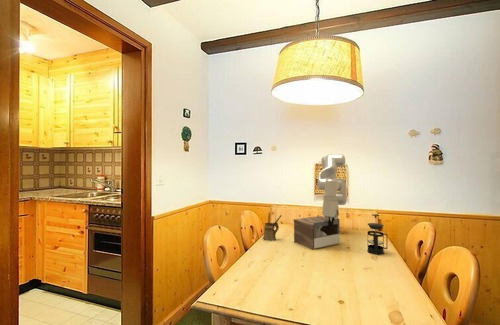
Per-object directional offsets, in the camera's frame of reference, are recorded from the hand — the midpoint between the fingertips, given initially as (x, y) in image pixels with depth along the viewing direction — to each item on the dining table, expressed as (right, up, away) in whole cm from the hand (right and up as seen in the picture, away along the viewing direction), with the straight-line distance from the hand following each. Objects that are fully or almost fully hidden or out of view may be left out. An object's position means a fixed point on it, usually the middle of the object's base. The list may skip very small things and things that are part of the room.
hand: (330, 227), depth 170 cm
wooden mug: (-36, -14, +19) cm, 43 cm away
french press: (+25, -14, -8) cm, 30 cm away
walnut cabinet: (-7, -13, +11) cm, 18 cm away
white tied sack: (-6, -11, +10) cm, 16 cm away
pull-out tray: (-6, -12, +10) cm, 17 cm away
